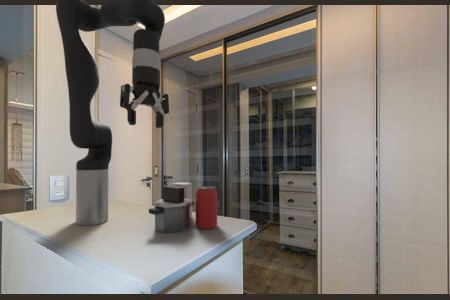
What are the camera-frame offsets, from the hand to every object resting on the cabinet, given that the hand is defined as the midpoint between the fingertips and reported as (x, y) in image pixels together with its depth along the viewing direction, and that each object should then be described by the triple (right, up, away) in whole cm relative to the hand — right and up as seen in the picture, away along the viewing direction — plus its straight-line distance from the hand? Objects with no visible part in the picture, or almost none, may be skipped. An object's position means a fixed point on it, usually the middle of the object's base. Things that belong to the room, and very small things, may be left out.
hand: (146, 126), depth 64 cm
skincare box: (+7, -31, +15) cm, 35 cm away
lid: (+7, -23, +5) cm, 25 cm away
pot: (+6, -30, +5) cm, 31 cm away
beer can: (+17, -30, +5) cm, 35 cm away
